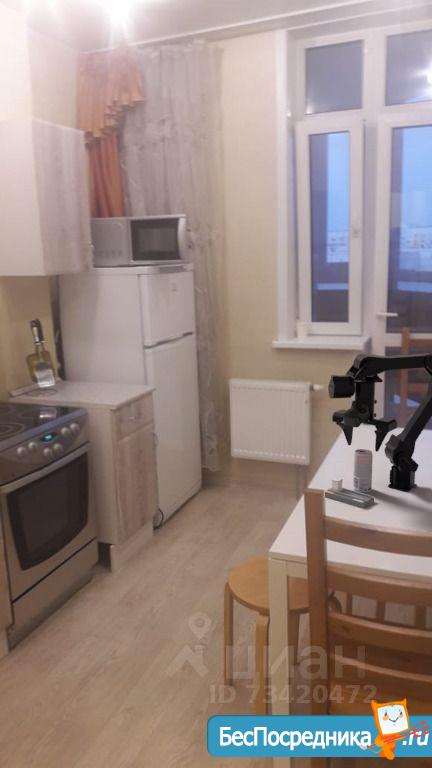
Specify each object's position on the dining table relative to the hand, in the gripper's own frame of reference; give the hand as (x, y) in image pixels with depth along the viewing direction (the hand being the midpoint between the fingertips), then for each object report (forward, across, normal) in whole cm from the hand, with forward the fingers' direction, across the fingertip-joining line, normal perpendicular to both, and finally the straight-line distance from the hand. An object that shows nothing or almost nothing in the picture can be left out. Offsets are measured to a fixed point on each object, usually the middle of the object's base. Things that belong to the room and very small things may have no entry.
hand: (363, 448), depth 182 cm
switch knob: (+11, -3, -9) cm, 15 cm away
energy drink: (+13, 0, 0) cm, 13 cm away
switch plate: (+13, +1, -9) cm, 16 cm away
